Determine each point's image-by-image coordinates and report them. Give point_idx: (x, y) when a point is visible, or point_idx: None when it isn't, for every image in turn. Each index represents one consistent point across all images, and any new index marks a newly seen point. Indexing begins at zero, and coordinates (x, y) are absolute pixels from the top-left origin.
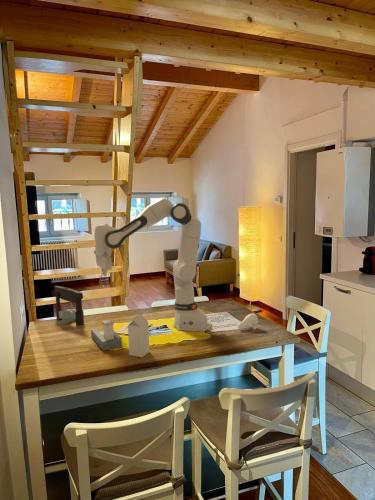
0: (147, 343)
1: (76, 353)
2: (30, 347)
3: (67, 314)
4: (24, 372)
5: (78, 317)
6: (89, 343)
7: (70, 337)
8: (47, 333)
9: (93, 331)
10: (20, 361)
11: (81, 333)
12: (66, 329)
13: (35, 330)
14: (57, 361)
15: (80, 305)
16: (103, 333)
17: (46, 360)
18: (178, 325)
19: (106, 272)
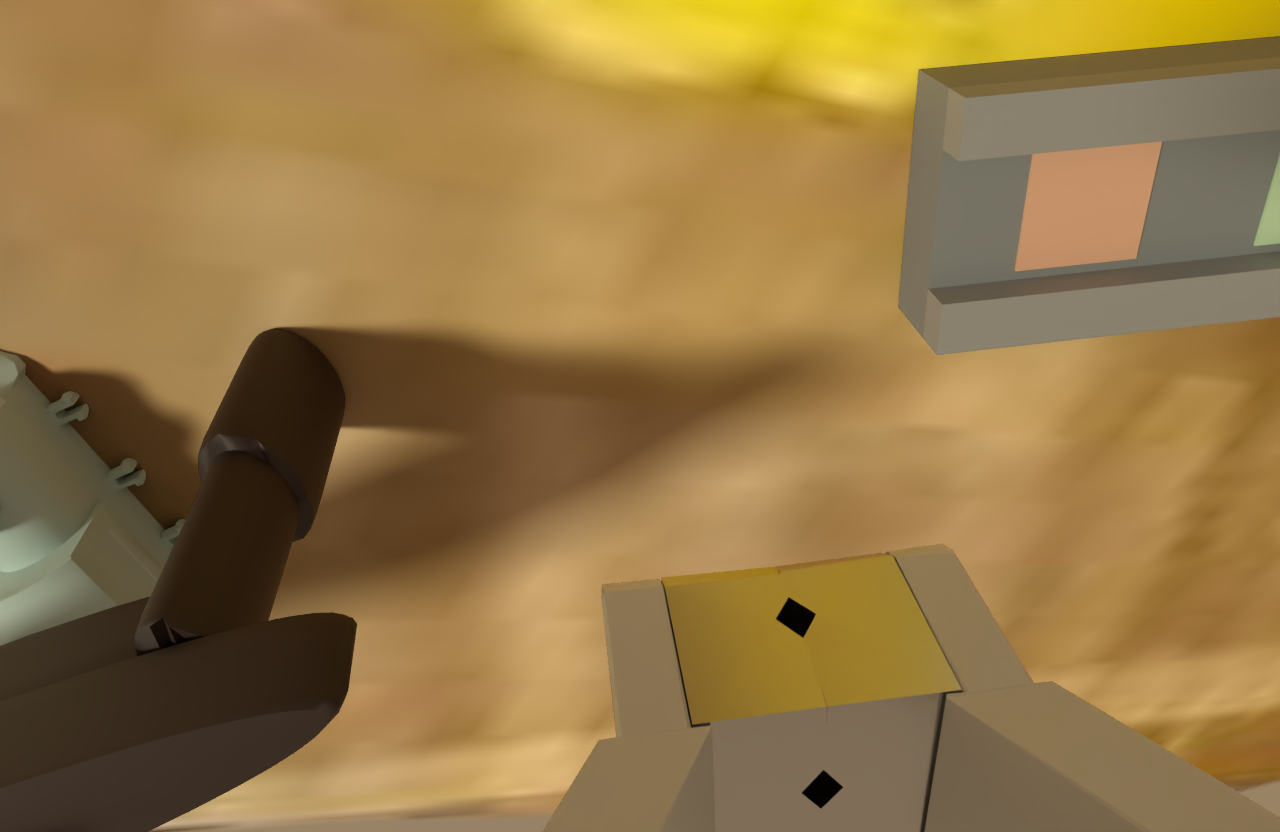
0: None
1: (1227, 480)
2: None
3: (121, 583)
4: (1255, 765)
5: (327, 458)
6: (1079, 350)
7: (765, 505)
8: (507, 686)
9: (1048, 338)
10: None
11: (701, 395)
12: (458, 531)
13: (350, 775)
14: (1259, 608)
15: (256, 537)
16: (1107, 207)
17: (1174, 670)
18: None
19: (1054, 701)
